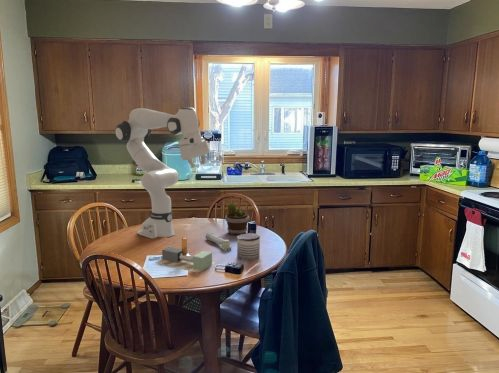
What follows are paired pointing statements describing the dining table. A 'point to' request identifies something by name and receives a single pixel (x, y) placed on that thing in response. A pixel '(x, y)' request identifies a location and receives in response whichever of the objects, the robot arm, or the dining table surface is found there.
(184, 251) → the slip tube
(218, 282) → the dining table surface
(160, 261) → the base board
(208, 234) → the grey-green long bar
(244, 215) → the flowerpot
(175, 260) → the dark grey rectangular block
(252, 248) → the can
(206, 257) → the socket block
